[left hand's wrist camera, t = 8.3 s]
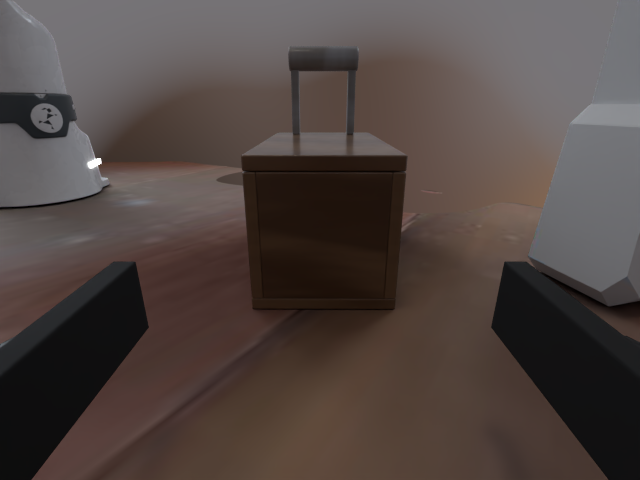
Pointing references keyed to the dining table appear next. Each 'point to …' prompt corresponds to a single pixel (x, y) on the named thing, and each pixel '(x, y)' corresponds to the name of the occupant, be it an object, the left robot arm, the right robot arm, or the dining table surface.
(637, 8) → the electronic device
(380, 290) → the chest
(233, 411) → the dining table surface
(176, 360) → the dining table surface
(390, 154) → the lid
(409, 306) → the dining table surface
